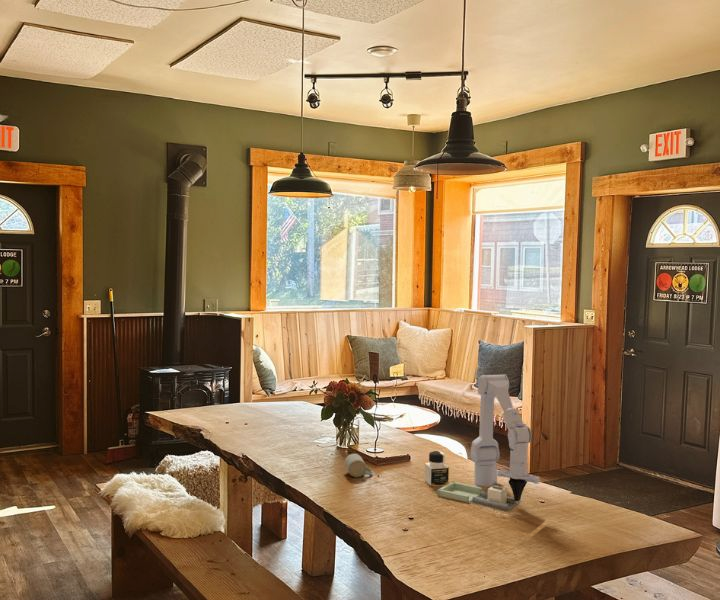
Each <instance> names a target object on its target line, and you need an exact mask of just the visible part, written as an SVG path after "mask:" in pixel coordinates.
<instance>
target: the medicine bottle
mask: <svg viewBox="0 0 720 600" xmlns="http://www.w3.org/2000/svg"><path fill="white" fill-rule="evenodd" d="M428 454H429V455H428V462H425V463H424V482H425V483H427V484H428V485H429V486H430V487H440V485H443V486H445V485H447V484H449V474H450V473H449V471H450V467H449V466H448V465H446V454H445V452H443V451H440V450H434V451H433V450H432V451H430V452H429V453H428Z"/></svg>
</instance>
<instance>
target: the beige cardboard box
mask: <svg viewBox="0 0 720 600" xmlns="http://www.w3.org/2000/svg"><path fill="white" fill-rule="evenodd" d="M487 492H488V500H492V501H497V502H501V503H506V502H507V495H508V489H507V487H502V486H498V485H492V486H489V488H487Z"/></svg>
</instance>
